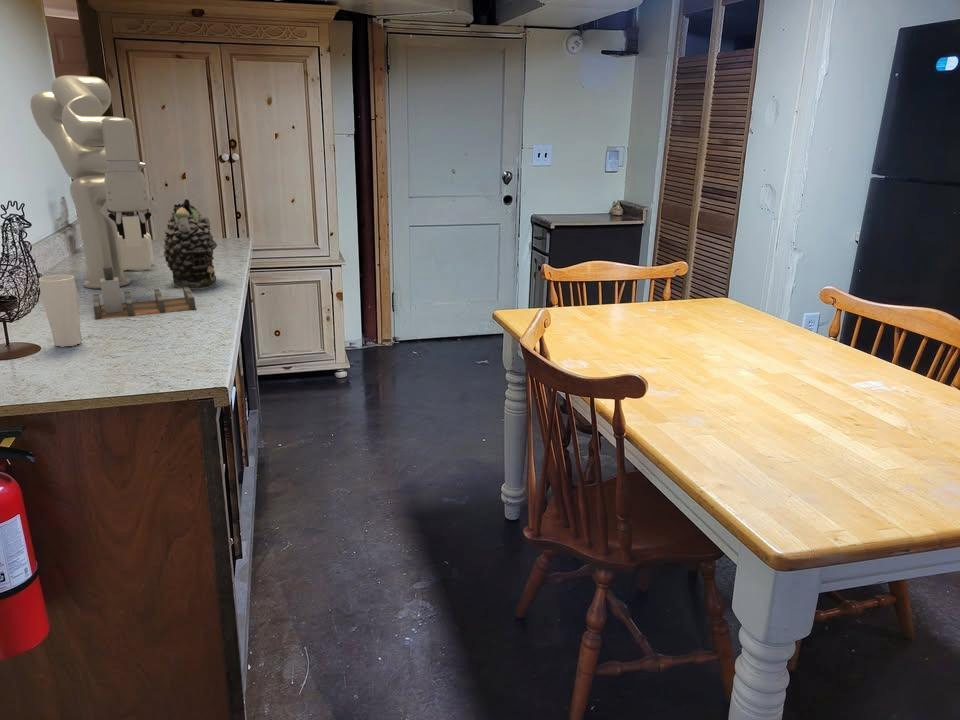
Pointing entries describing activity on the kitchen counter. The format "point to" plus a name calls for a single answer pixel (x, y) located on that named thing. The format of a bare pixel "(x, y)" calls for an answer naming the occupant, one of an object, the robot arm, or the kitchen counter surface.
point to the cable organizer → (136, 254)
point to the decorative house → (189, 248)
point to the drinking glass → (61, 308)
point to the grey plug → (111, 292)
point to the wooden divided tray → (147, 305)
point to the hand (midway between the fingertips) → (133, 237)
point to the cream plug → (132, 230)
